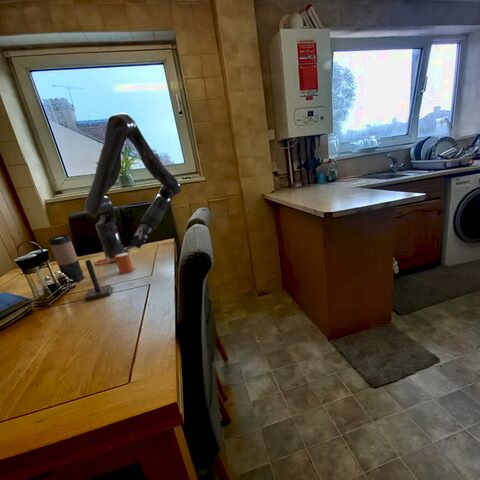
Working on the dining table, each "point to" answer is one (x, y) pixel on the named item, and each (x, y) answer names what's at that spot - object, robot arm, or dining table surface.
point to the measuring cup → (119, 262)
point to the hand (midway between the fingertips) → (134, 246)
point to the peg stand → (96, 285)
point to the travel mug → (66, 257)
